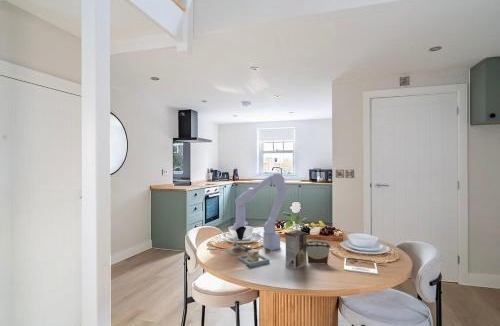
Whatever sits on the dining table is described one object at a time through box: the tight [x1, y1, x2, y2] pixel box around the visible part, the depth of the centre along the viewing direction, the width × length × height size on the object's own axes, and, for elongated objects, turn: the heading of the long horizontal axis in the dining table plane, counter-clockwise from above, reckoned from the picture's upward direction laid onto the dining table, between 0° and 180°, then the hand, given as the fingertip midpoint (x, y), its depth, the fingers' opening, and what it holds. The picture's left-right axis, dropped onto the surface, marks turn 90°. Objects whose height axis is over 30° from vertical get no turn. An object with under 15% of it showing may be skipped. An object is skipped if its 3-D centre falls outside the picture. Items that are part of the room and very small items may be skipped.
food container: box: [307, 240, 332, 265], centre depth 146 cm, size 12×6×10 cm, turn 84°
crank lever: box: [232, 237, 253, 249], centre depth 162 cm, size 12×3×5 cm, turn 62°
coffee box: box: [285, 230, 308, 271], centre depth 140 cm, size 9×6×16 cm
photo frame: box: [343, 257, 379, 275], centre depth 140 cm, size 15×1×18 cm
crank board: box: [222, 246, 254, 256], centre depth 160 cm, size 15×13×2 cm
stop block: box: [246, 248, 260, 263], centre depth 145 cm, size 4×4×5 cm
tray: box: [237, 253, 271, 269], centre depth 144 cm, size 12×12×2 cm
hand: (240, 239), depth 169 cm, fingers closed
